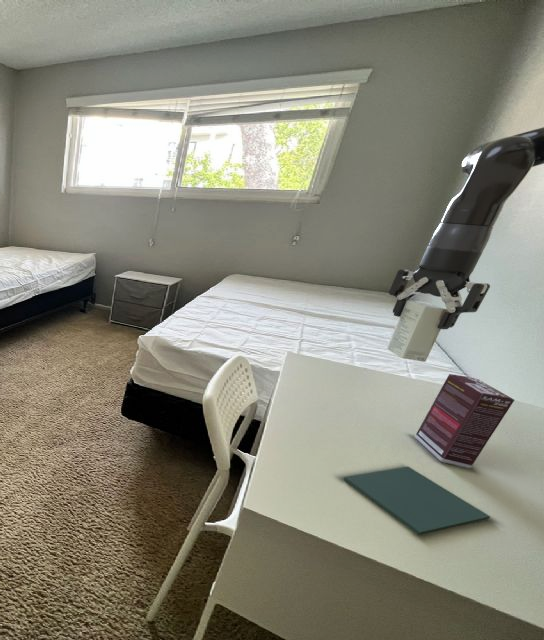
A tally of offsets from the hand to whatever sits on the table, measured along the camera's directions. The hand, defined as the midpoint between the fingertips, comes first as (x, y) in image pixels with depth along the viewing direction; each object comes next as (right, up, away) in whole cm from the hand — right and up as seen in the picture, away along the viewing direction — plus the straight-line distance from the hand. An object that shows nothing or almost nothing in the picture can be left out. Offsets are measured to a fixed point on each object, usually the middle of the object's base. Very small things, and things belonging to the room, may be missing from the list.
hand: (419, 322), depth 77 cm
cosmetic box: (0, -8, +3) cm, 8 cm away
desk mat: (-20, -30, -17) cm, 40 cm away
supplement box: (-1, -27, -5) cm, 28 cm away
